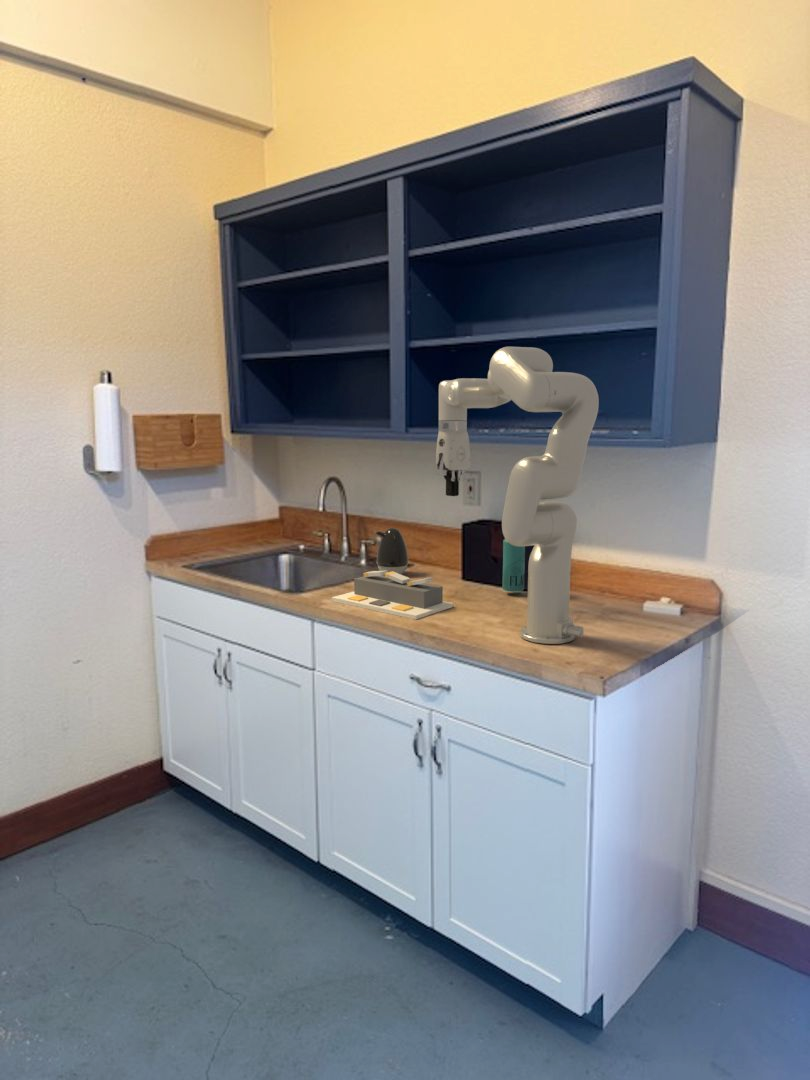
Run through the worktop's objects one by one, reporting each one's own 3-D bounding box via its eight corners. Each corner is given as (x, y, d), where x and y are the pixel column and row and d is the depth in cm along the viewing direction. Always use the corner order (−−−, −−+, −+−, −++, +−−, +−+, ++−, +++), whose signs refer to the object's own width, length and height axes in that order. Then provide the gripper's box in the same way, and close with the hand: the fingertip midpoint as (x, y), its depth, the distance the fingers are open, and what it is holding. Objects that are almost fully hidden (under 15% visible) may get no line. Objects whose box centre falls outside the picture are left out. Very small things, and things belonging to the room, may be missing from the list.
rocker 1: (388, 574, 211) (387, 570, 211) (380, 576, 209) (379, 572, 209) (371, 574, 216) (371, 571, 215) (363, 576, 213) (363, 573, 213)
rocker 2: (433, 580, 201) (432, 576, 201) (425, 582, 199) (424, 579, 199) (415, 584, 205) (414, 580, 205) (407, 586, 203) (406, 582, 203)
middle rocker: (409, 581, 207) (410, 578, 206) (401, 583, 204) (402, 580, 204) (392, 574, 210) (392, 571, 210) (384, 576, 208) (384, 573, 208)
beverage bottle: (507, 597, 212) (508, 527, 209) (498, 592, 219) (499, 523, 215) (528, 596, 214) (530, 526, 211) (518, 590, 220) (520, 522, 217)
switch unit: (453, 606, 203) (453, 586, 202) (415, 619, 191) (415, 598, 190) (370, 590, 222) (370, 571, 221) (331, 600, 210) (331, 581, 209)
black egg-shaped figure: (372, 572, 246) (371, 526, 243) (402, 570, 249) (402, 524, 246) (381, 579, 236) (380, 531, 234) (412, 576, 240) (412, 529, 237)
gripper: (447, 428, 194) (446, 499, 198) (480, 427, 206) (479, 494, 209) (424, 427, 199) (424, 497, 202) (457, 426, 211) (457, 492, 214)
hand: (452, 495), depth 206 cm, fingers closed
